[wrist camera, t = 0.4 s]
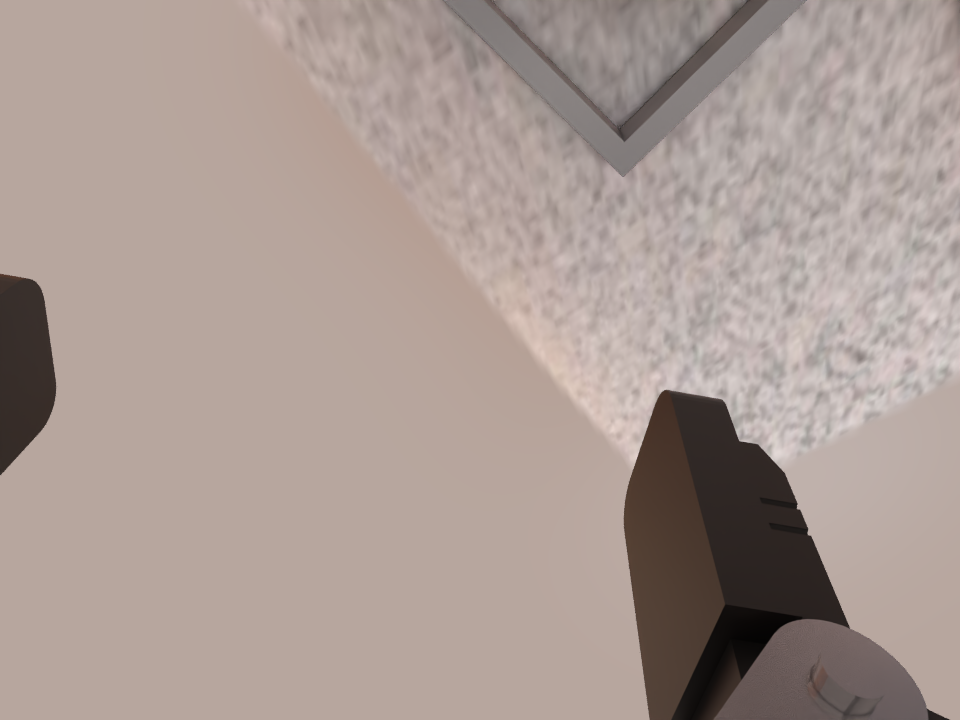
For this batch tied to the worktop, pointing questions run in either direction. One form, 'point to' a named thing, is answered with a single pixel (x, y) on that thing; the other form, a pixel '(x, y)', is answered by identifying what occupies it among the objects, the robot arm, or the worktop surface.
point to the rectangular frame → (664, 110)
